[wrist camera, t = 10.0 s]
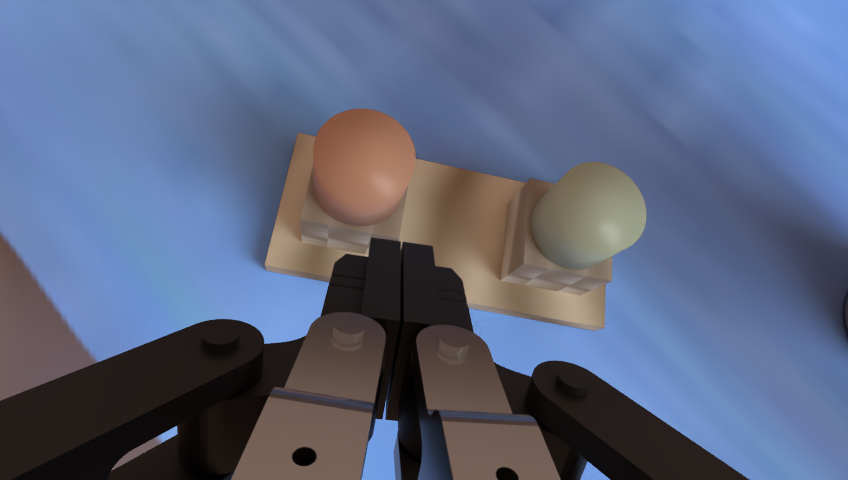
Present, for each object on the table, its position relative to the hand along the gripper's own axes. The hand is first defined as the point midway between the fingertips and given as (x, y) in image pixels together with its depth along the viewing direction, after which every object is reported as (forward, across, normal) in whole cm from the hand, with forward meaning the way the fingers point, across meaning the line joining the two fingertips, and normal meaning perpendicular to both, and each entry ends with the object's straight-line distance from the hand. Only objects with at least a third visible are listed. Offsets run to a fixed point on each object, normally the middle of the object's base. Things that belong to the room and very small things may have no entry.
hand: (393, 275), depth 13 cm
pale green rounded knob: (+22, -12, +7) cm, 26 cm away
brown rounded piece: (+22, +2, +6) cm, 23 cm away
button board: (+25, -5, +9) cm, 27 cm away
